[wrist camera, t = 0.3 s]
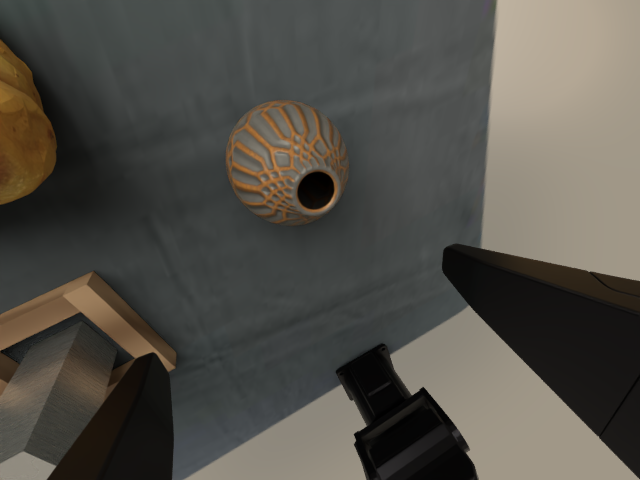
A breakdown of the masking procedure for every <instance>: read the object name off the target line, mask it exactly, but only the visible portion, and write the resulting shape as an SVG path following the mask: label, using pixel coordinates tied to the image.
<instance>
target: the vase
mask: <svg viewBox="0 0 640 480" xmlns="http://www.w3.org/2000/svg"><path fill="white" fill-rule="evenodd" d="M226 169H227V174H228V178H229V181H230V183H231V186H232V188H233V190H234V192H235V194H236V195H237V197H238V198H239V200H240V201H241V202H242V203H243V204H244V205H245V206H246V207H247V208H248V209H249V210H250V211H251V212H252V213H254V214H255V215H257V216H258V217H260V218H262V219H264V220H266V221H269V222H271V223H275V224H279V225H285V226H298V225H304V224H308V223H311V222H313V221H315V220H317V219H319V218H321V217H323V216H324V215H326V214H327V213H328V212H329V211H330V210H331V209H332V208H333V207H334V206H335V205H336V204H337V202H338V201H339V199H340V198H341V196H342V194H343V192H344V190H345V187H346V184H347V180H348V175H349V159H348V153H347V149H346V146H345V143H344V141H343V139H342V137H341V135H340V133H339V131H338V130H337V128H336V127H335V126H334V124H333V123H332V122H331V121H330V120H329V119H328V118H327V117H326V116H325V115H324V114H322V113H321V112H320V111H318V110H317V109H315V108H313V107H311V106H309V105H306V104H304V103H301V102H297V101H290V100H276V101H270V102H266V103H263V104H261V105H258V106H256V107H254V108H253V109H251V110H250V111H248V112H247V113H246V114H245V115H244V116H243V117H242V118H241V119H240V120H239V121H238V122H237V124H236V125H235V127H234V128H233V130H232V132H231V134H230V137H229V140H228V143H227V148H226Z"/></svg>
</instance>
